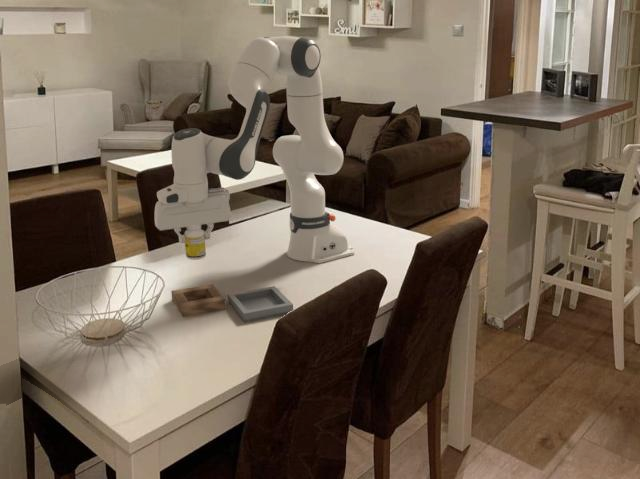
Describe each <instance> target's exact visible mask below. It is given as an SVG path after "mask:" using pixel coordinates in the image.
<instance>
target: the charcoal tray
mask: <svg viewBox="0 0 640 479" xmlns="http://www.w3.org/2000/svg"><path fill="white" fill-rule="evenodd" d="M227 303H228V304H229V305H230V307H231V308H232V309H233V311H234V312H235V313H236V314H237V315H238V317H239V318H240V319H241V320H242V321H243V322H244V323H248V322H253V321H257V320H263V319H268V318H273V317H278V316H284V315H288V314H287V313H288V312H290V311H292V310H293V311H294V303H292V301H290V300H289V299H288V297H287V296H286V295H285V294H283V293H282V291H280V290H279V289H278V288H277V287H276V286H275V285H273V286H267V287H262V288H256V289H251V290H246V291H239V292H234V293H233V292H232V293H228V294H227ZM283 314H284V315H283Z"/></svg>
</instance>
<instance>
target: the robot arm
mask: <svg viewBox="0 0 640 479" xmlns="http://www.w3.org/2000/svg"><path fill="white" fill-rule="evenodd" d="M239 55H240V56H239V57H238V59H237V61H236V62H235V64H234V66H233V69H232V71H231V72H230V74H229V77H228V81H227V86H228V90H229V92H230V94H231V96H232V97H233V98H234V100H236V101H237V102H238V103H239V104H240V105H241V106H243V108H245V111H246V112H245V115H244V118H243V121H242V124H241V128H240V131H239V133H238V136H237V137H235V138H234V139H227V138H222V137H217V136H212V135H208V134H206V133H204V132H202V130H201V129H199V128H193V127H190V128H184V129H181V130H179V131H177V132H175V134H174V135H172V141H171V165H172V169H173V171H174V176H173V183H172V184H171V185H168V186H166V187H164V188H162V189H160V190H157V192H156V197H157V199H158V201H156V203H155V206H154V226H155V227H156V228H157V230H159V231H168V230H173V231H174V232H175V233H176V234H177V236H178V241H179V244H183V243H184V244H185V242H186V240H185V239H186V237H185V235H184V234H181V233H180V232H182V228H186V227H189V226H192V225H196V224H199V225H201V226H202V225H206V226H207V227H206V230H204V234H205V240H211V233H212V231H213V229H214V226H215V224H216V223H222V222H228V221H229V220H230V219H231V217H232V213H231V207H230V203H229V201H230V196H231V194H230V191H229V190H228V188H224V187H222V186H221V187H217V188H215V187H214V188H209V181H208V176H207V174H210V173H212V174H214V175H218V176H219V175H220V176H224V177H227V178H230V179H233V180H237V181H238V180H239V181H240V180H243V179H244V178H246V177H247V176H249V175H250V174H251V173H252V171H253V169H254V168H255V165H256V159H257V153H258V147H259V144H260V141H261V137H262V135H263V132H264V130H265V129H264V128H265V125H266V122H267V119H268V115H269V111H270V107H271V98H270V95H269V90H270V89H269V88H270V86H271V84H272V81H273V79H274V77H275V75H277V76H285V77H286V87H285V88H286V103H287V104H286V105H287V118H288V121H289V123H290V124H291V125H292V126H293V127H294V128H295V129H296V130H297V132H298V134H299V135H298V134H297V135H296V134H289V135H282V136H280V137H278V138H277V139H276V140H275V142H274V144H273V148H272V157H273V159H274V162H275V163H277V165H278V166H279V167H280V169H281V171H282V172H283V174H284V177H285V179H286V181H287V186H288V188H289V195H290V214H289V230H290V235H289V236H290V237H289V243H288V248H287V252H286V255H287V257H288V258H290V259H292V260H295V261H298V262H309V263H314V264H321V263H322V264H323V263H326V262H329V261H333V260H337V259H341V258H344V257H348V256H353V255H355V252H356V251H355V248H354V246H352V245H351V244H350V243H348V238H347V235H346V234H345V232H344V231H343V230H342V229H341V228H339V227H337V226H336V225H334V224H333V222H336V220H337V217H336V216H335V215H334V214H331V213H329V212H327V211H326V192H325V188H324V187H323V186H322V184H321V183H320V182H319V181H318V179H317V178H316V176H315V175H318V176H330V175H336V174H337V173H338V172H339V171H340V170H341V168H342V166H343V164H344V151H343V149H342V147H341V146H340V145H339V144H338V143H337V142H336V141H335V139H334V138H333V137H332V135H331V133H330V130H329V128H328V125H327V121H326V119H325V111H324V109H325V108H324V96H323V82H322V76H321V70H320V63H321V58H322V57H321V56H322V54H321V50H320V48H319V46H318V44H317V43H316V41H315V40H312V39H311V38H307V37H304V36H303V37H297V36H292V35H291V36H290V35H284V36H265V37H254V38H253V39H252V40H251V41H250V42H249V43H248V44H247V45H246V46H245V48H244V50H243V51H242V52H241V54H239Z"/></svg>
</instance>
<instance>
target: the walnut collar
mask: <svg viewBox="0 0 640 479" xmlns="http://www.w3.org/2000/svg"><path fill="white" fill-rule="evenodd" d="M171 300H172V303H173V304H174V306H175V307H176V309H177V310H178V312H179V313H180V315H181V316H182V318H184V317H190V316H192V317H193V316H195V315H196V316H197V315H202V314H209V313H213V312H218V311H223V310H226V298H225V297H224V296H223V295H222V294H221V292H220V291H219V290H218V288H217V287H216V286H215V284H213V283H210V284H203V285H199V286H193V287H192V286H191V287H186V288H180V289H173V290H171Z"/></svg>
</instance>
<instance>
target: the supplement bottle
mask: <svg viewBox="0 0 640 479" xmlns="http://www.w3.org/2000/svg"><path fill="white" fill-rule="evenodd" d="M185 229H186V230H185V231H184V234H183V235H185V237H186V239H185V240H186V242H185V243H184V246H185V247H184V249H185V257H186V258H187V259H189V260H192V261H193V260H202V259H204V258H205V257H206V256H207V251H206V239H205V234H204V232H205V230H204V229H202V225H199V224H196V225H192V226H189V227H185Z"/></svg>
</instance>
